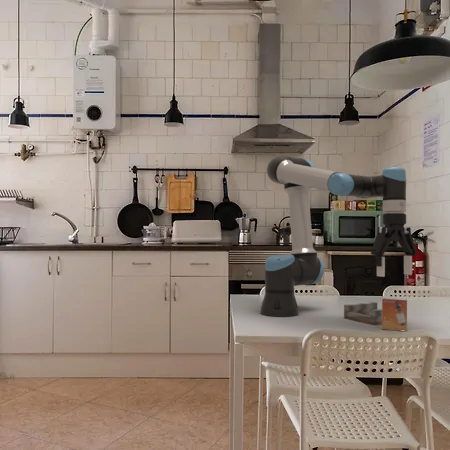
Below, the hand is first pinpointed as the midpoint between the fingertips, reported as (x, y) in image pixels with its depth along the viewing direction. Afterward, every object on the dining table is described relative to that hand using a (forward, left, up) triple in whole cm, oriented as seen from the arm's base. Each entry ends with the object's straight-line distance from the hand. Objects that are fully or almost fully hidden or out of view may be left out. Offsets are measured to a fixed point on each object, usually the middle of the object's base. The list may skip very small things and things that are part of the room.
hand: (394, 275), depth 153 cm
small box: (0, 0, -18) cm, 18 cm away
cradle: (+7, +15, -18) cm, 25 cm away
